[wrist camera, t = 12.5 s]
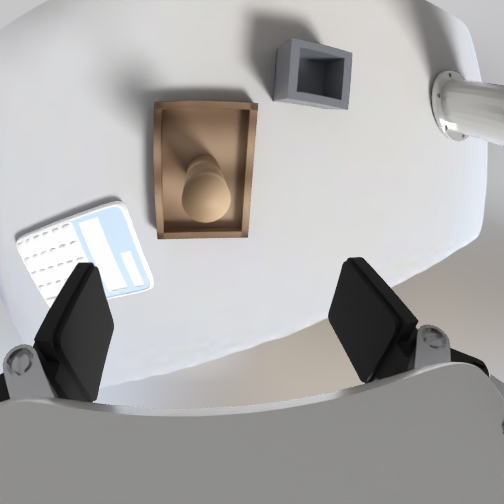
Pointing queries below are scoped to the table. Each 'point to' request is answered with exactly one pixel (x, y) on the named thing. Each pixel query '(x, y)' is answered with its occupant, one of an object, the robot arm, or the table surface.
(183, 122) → the tray
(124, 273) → the calculator
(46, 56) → the table surface
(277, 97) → the pen cup
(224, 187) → the dowel
